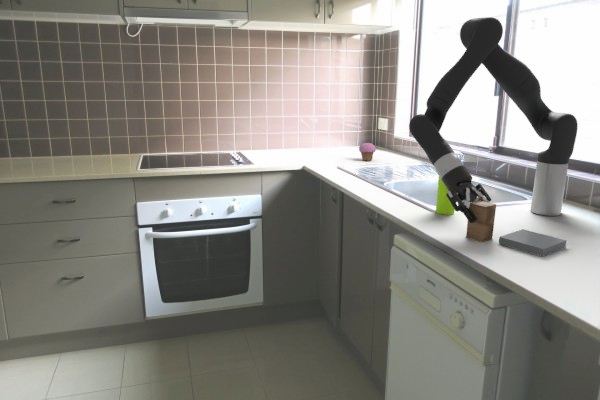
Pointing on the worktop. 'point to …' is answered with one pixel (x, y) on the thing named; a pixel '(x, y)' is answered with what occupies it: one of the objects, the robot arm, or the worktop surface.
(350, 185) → the worktop surface
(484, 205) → the walnut block
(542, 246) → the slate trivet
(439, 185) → the soap dispenser
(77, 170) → the worktop surface
